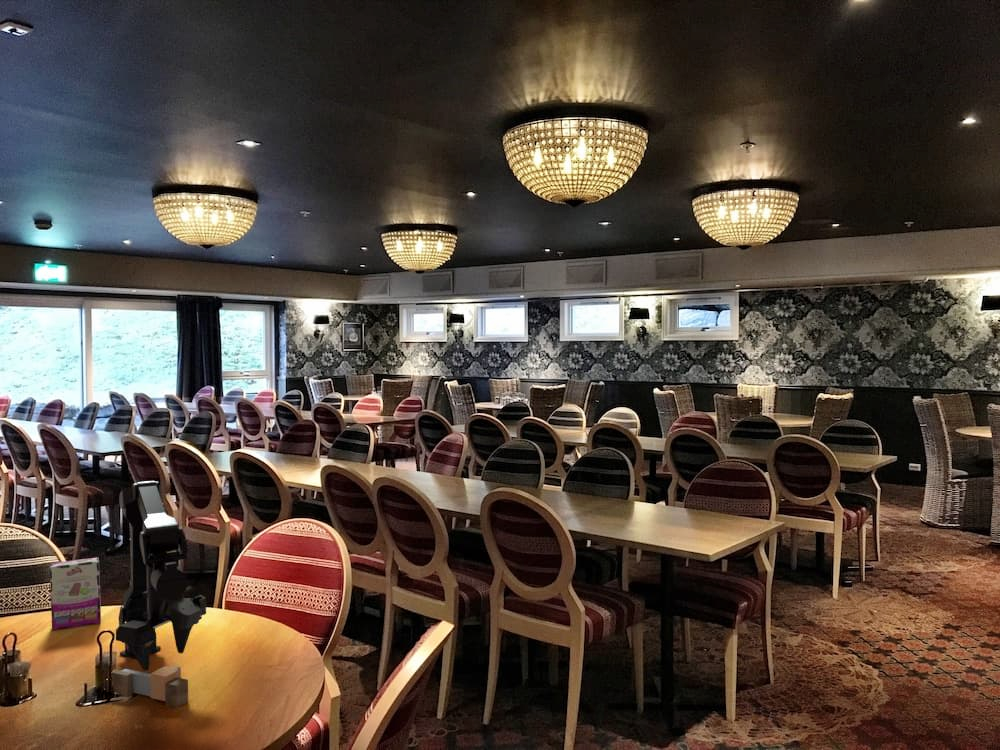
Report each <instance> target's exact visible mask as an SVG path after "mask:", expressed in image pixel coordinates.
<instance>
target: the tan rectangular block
mask: <svg viewBox="0 0 1000 750" xmlns="http://www.w3.org/2000/svg"><path fill="white" fill-rule="evenodd" d="M181 672H182V671H181V668H180V669H179V668H173V666H169V665H164V666H163V667H160V668H159V669H157V670H155V671H152V672H151V673H149V674H150V679H151V696H150V698H151V699H152V700H158V701H163V702H165V683H167V682H169V681H170V680H172V679H174V678H176V677H177V678H182V673H181Z"/></svg>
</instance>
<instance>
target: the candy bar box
mask: <svg viewBox="0 0 1000 750" xmlns="http://www.w3.org/2000/svg"><path fill="white" fill-rule="evenodd" d="M100 576H101V575H100V559H99V556H97V557H91V558H82V559H73V560H67V561H66V560H65V561H56V562H51V563H50V566H49V578H50V579H49V581H50V603H51V604H50V608H51V609H50V610H51V613H50V614H51V630H52V631H59V630H60V631H61V630H65V629H71V628H79V627H85V626H90V625H97V624H100V623H101V622H102V621H101V620H102V617H101V616H102V615H101V613H102V606H101V605H102V604H101V603H102V602H101V583H100Z"/></svg>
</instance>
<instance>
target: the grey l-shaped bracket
mask: <svg viewBox="0 0 1000 750" xmlns="http://www.w3.org/2000/svg"><path fill="white" fill-rule="evenodd" d="M172 667H173V668H179V669H181V666H178V665H177V666H176V665H173V666H172ZM121 671H123V672H128V673H132V694H137V695H143V696H147V697H151V679H150V674H151V673H147V672H143V671H138V670H137V671H136V670H133V669H128V668H124V669H122V670H121Z"/></svg>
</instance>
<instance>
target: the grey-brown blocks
mask: <svg viewBox="0 0 1000 750" xmlns="http://www.w3.org/2000/svg"><path fill="white" fill-rule="evenodd" d="M111 674H112V675H111V676H112V682H113V686H114V690H115V692H116V693H119V694H120V695H122V696H121V697H124V696H126V697H125V698H128V697H131V696H133V692H132V673H128V672H123V671H122V670H118V669H113V671H112V672H111ZM120 695H119V696H120ZM188 702H189V679H187V678H182V677H181V678H177V677H176V678H174V679H172V680H170V681H169V682H167V683H165V701H164V703H165V706H166V707H171V708H176V709H178V708H180V707H181V706H183V705H186V704H187V703H188Z"/></svg>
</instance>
